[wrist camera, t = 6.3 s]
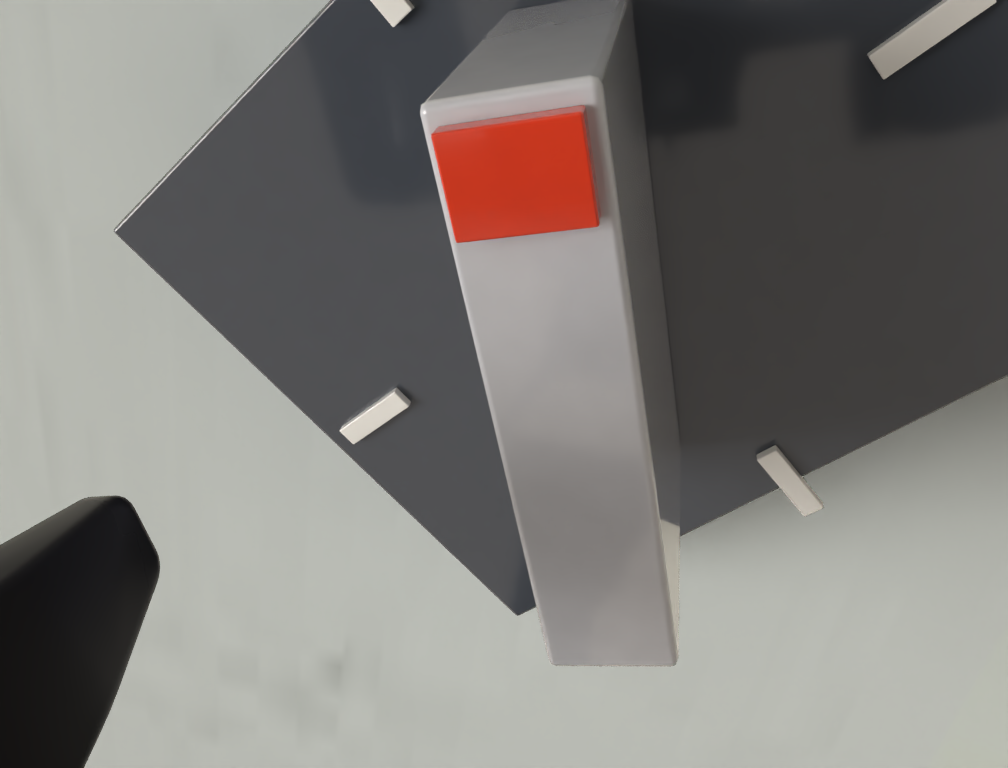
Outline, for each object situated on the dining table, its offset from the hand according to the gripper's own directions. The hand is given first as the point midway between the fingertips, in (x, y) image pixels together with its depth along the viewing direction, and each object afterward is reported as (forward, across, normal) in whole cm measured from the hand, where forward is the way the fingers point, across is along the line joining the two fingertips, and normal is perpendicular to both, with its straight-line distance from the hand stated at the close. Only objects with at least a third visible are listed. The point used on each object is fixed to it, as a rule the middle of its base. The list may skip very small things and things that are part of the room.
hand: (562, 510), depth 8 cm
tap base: (+9, 0, 0) cm, 9 cm away
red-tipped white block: (+6, 0, 0) cm, 6 cm away
